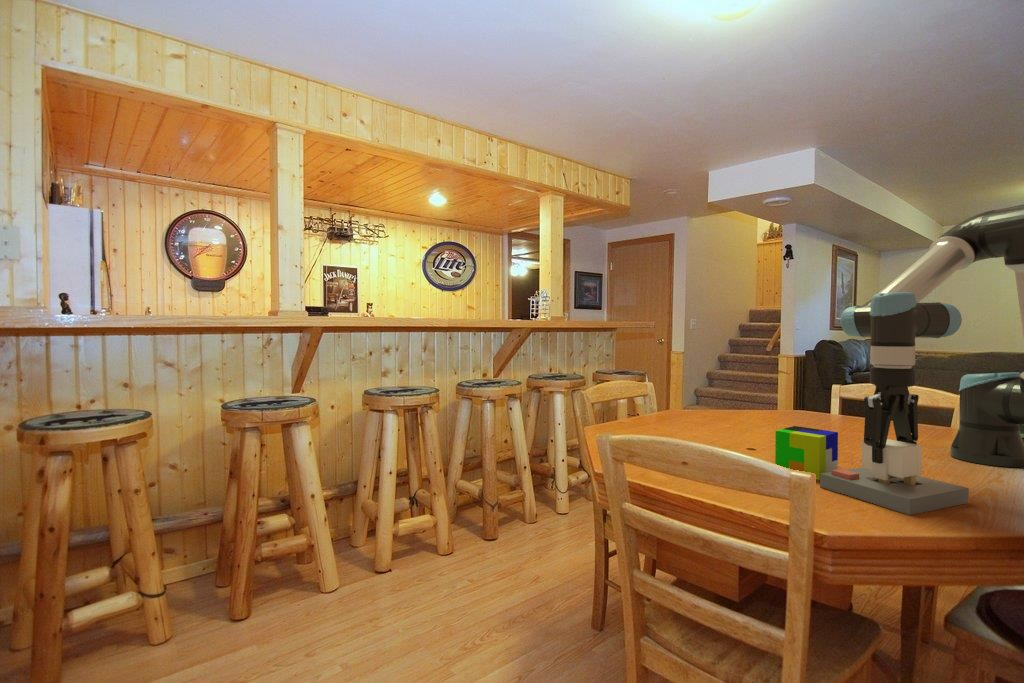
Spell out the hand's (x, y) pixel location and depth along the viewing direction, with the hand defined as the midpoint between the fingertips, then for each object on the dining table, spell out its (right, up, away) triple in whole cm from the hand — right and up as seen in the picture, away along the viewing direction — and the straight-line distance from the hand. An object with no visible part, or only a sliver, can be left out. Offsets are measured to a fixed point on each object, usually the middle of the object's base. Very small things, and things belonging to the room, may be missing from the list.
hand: (890, 476), depth 105 cm
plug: (0, -2, 0) cm, 2 cm away
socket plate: (0, -4, 0) cm, 4 cm away
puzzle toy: (-8, -4, +17) cm, 19 cm away
